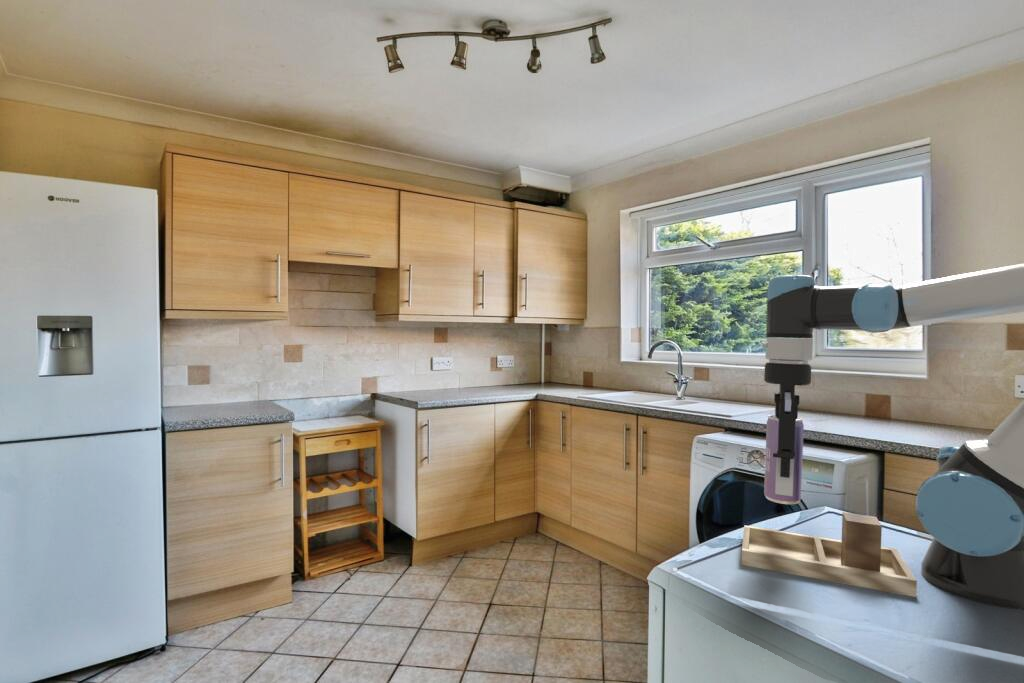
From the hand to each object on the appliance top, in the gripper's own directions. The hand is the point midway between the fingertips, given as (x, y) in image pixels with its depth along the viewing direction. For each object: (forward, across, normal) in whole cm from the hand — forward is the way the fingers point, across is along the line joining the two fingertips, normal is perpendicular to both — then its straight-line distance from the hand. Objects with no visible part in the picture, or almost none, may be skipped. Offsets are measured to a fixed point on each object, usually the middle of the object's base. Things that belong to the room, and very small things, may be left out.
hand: (783, 489), depth 98 cm
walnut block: (+12, 0, +12) cm, 17 cm away
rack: (+13, 0, +6) cm, 14 cm away
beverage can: (+2, 0, 0) cm, 2 cm away
